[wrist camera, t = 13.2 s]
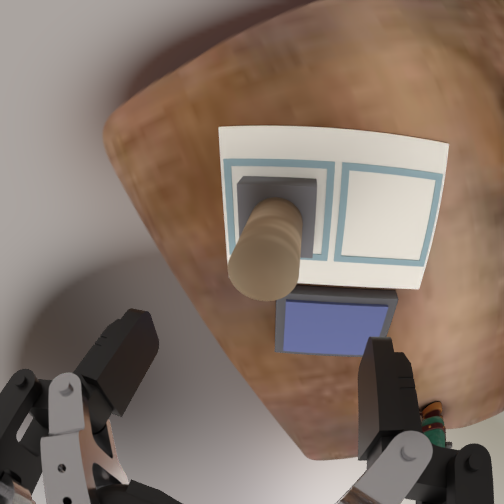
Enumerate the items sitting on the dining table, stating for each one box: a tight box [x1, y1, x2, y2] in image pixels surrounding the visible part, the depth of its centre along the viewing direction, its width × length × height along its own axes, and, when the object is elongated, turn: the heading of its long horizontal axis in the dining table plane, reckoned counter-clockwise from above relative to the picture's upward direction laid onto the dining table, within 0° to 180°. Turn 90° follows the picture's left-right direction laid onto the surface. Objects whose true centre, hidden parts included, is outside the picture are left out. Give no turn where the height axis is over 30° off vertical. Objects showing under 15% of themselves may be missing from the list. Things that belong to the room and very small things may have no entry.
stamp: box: [228, 176, 317, 301], centre depth 18 cm, size 5×5×8 cm
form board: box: [219, 125, 449, 289], centre depth 20 cm, size 16×12×1 cm
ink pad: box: [275, 285, 398, 357], centre depth 25 cm, size 10×7×2 cm
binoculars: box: [420, 402, 452, 449], centre depth 28 cm, size 9×11×10 cm
